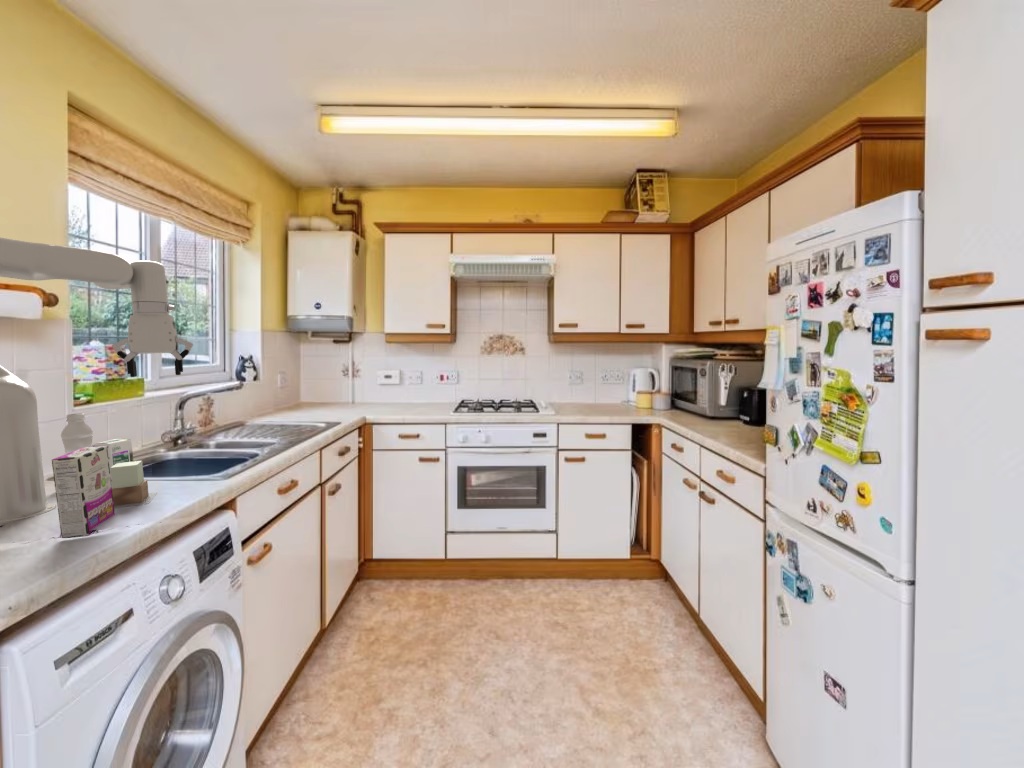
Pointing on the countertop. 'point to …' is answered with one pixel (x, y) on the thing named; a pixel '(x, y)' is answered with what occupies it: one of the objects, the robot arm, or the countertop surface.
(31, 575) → the countertop surface
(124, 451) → the syrup box
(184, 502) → the countertop surface
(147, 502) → the plate
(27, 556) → the countertop surface
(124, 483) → the sage cube
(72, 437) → the plastic bottle
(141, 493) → the walnut block
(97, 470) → the candy bar box
